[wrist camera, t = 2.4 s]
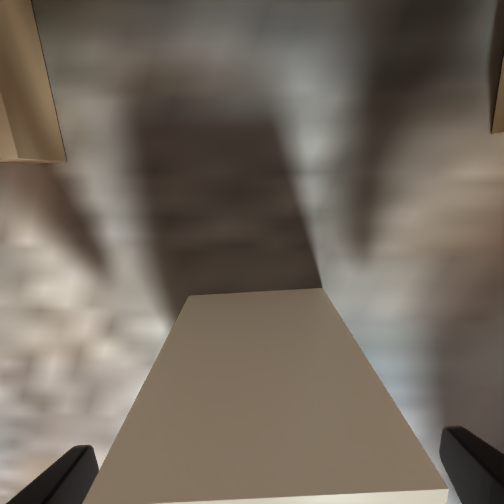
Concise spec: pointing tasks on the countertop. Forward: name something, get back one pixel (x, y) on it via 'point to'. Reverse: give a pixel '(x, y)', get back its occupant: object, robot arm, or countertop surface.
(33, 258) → the countertop surface
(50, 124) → the stand
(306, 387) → the limestone block
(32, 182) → the countertop surface
